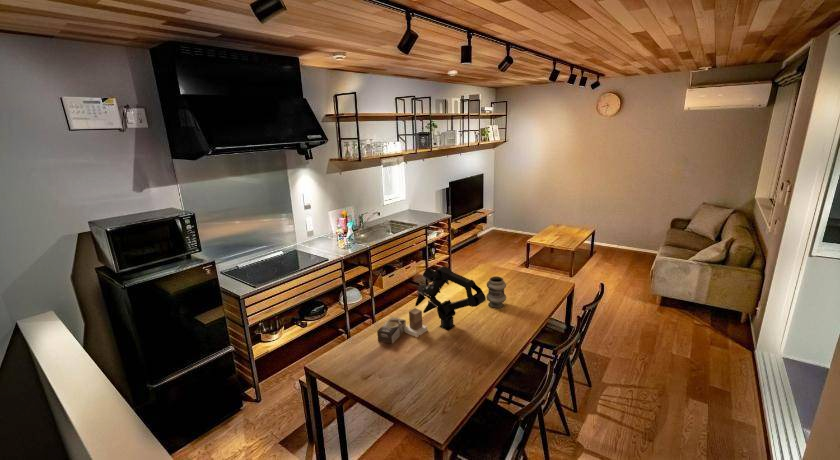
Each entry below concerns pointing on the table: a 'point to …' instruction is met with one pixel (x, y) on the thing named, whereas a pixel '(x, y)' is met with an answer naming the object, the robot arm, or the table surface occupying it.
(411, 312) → the walnut block
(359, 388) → the table surface
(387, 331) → the coffee box
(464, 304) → the robot arm
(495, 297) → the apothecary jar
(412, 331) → the base plinth
